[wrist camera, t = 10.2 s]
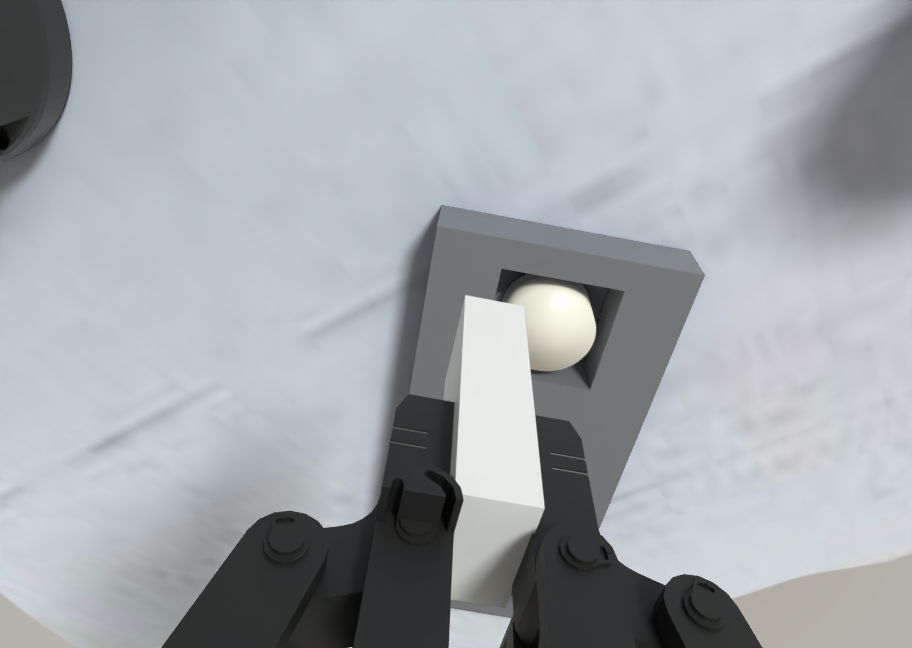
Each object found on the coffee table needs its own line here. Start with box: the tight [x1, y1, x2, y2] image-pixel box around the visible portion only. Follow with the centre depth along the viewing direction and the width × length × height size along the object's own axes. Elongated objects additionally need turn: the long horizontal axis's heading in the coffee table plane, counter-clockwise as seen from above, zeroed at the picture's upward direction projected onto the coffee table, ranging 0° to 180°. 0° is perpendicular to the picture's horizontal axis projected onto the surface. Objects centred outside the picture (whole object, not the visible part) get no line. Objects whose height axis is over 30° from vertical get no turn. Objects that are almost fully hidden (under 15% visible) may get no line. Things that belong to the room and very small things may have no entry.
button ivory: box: [502, 273, 596, 371], centre depth 36 cm, size 5×5×3 cm
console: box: [409, 205, 705, 618], centre depth 42 cm, size 14×30×3 cm, turn 170°
